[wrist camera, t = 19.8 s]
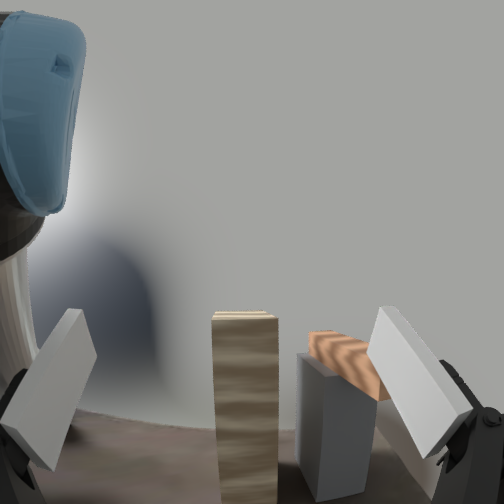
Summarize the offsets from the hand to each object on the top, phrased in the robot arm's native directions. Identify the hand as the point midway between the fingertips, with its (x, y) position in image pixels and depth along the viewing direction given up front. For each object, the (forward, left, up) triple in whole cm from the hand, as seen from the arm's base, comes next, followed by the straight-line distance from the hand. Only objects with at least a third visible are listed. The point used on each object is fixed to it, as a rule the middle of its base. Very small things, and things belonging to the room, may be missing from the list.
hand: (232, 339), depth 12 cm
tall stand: (-17, +27, -31) cm, 45 cm away
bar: (-2, +30, -9) cm, 32 cm away
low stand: (-5, +35, -31) cm, 47 cm away
